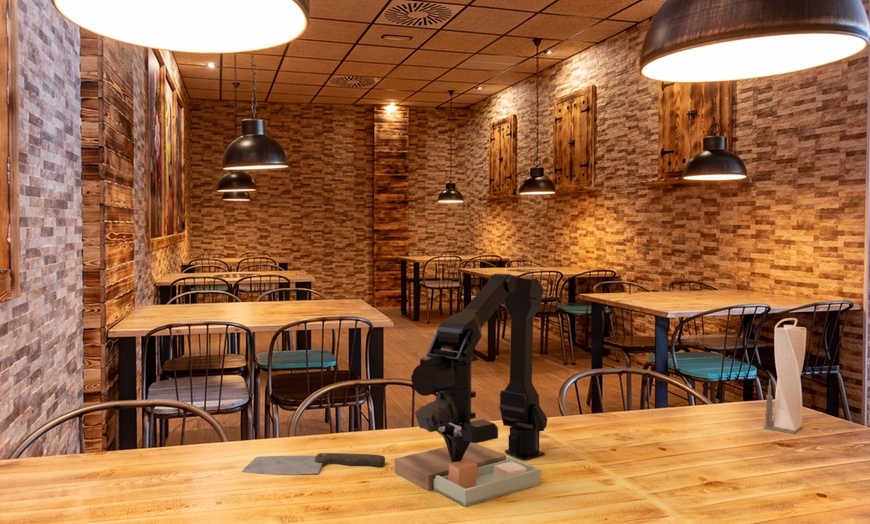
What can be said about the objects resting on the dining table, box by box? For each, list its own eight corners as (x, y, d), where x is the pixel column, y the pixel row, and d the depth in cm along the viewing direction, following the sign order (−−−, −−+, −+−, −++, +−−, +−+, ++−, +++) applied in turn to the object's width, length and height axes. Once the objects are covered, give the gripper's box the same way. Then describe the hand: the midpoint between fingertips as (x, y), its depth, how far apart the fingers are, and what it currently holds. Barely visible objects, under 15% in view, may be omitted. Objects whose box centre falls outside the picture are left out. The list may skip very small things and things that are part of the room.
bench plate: (470, 454, 149) (470, 441, 149) (506, 469, 140) (506, 455, 140) (394, 472, 138) (394, 458, 138) (428, 490, 128) (428, 475, 128)
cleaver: (386, 460, 146) (385, 451, 146) (382, 476, 136) (382, 466, 136) (251, 461, 146) (251, 452, 146) (238, 477, 136) (238, 467, 136)
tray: (507, 470, 139) (507, 455, 139) (540, 484, 132) (540, 469, 131) (433, 490, 128) (433, 474, 128) (465, 507, 120) (465, 490, 120)
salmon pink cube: (467, 458, 131) (477, 464, 128) (465, 480, 131) (475, 486, 129) (449, 463, 128) (459, 469, 125) (447, 485, 128) (457, 492, 126)
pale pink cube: (526, 468, 130) (526, 483, 130) (512, 461, 134) (512, 476, 134) (507, 472, 128) (507, 487, 128) (494, 465, 132) (494, 480, 132)
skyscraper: (774, 421, 177) (776, 316, 176) (808, 427, 171) (811, 319, 170) (763, 428, 170) (766, 319, 169) (798, 434, 165) (801, 322, 164)
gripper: (395, 382, 132) (395, 460, 133) (452, 402, 117) (451, 489, 118) (441, 375, 139) (440, 449, 139) (500, 393, 123) (499, 476, 124)
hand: (455, 465), depth 130 cm, fingers closed
